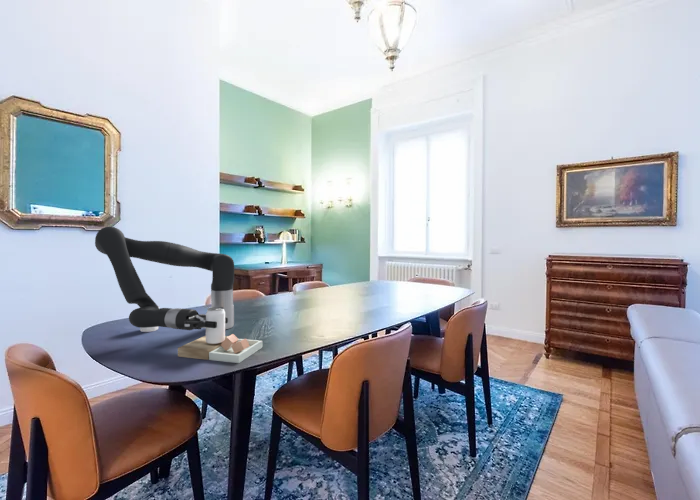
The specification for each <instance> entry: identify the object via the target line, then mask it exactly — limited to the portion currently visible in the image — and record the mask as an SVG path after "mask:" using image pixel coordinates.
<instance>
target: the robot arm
mask: <svg viewBox="0 0 700 500" xmlns="http://www.w3.org/2000/svg"><path fill="white" fill-rule="evenodd" d="M94 239H95V240H94V245H95V247H96V249H97V251H98V252H99V253H101V254H104V255H106V256H107V257H108V259H109V262H110V263H111V266H112V268H113V270H114V274H115V277H116V278H115V279H116V280H117V283H118V286H119V288H120V291H121V293H122V295H123V297H124V299H125V301H126V303H127V304H130V305H131V304H134V305H137V306H138V308H135V309H132V310H131V312H130V314H129V315H128V321H129V323H130V324H131V325H132V326H134V327H136V328H139V329H140V328H147V327H157V326H158V327H161V328H170V329H175V330H184V331H193V330H202V329H206V327H207V328H216V327H217V322H215V321H206V313H199V312H198V311H197V310H196V309H191V308H180V307H178V308H177V307H176V308H175V307H174V308H171V307H170V308H169V307H160V306H159V305H158V304H157V303H156V302H155V301H154V299H153V298H152V297H151V296H150V295H149V294H148V293H147V291H146V289H145V287H144V285H143V283H142V281H141V279H140V277H139V274H138V272H137V271H136V268H135V266H134V264H133V262H132V259H131V258H134V259H139V260H144V261H147V262H154V263H158V264H163V265H167V266H173V267H187V268H198V269H203V270H206V271H209V272H212V277H211V278H212V280H211V281H212V282H211V284H210V299H211V300H210V303H211V305H210V307H223V308H224V311H225V330H229V329H232V328H234V325H235V305H234V283H235V261H234V259H233V258H232V256H230V255H229V254H224V253H216V252H215V253H214V252H208V251H207V252H206V251H201V250H197V249H194V248H193V247H189V246H187V245H186V246H185V245H183V244H179V243H175V242H170V241H163V240H138V239H133V238H129V237H125V234H124V233H123V231H122V230H120V229H119V228H118V227H116V226H105V227H102V228H101V229H100V230H98V231H97V233H96V235H95V238H94ZM158 306H159V307H158Z"/></svg>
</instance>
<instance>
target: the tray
mask: <svg viewBox="0 0 700 500" xmlns="http://www.w3.org/2000/svg"><path fill="white" fill-rule="evenodd" d="M238 339H239V340H238V341H237V342H239V341H241V340H243V339H244V338H238ZM246 339H247V338H246ZM247 341H248V343H249V347H247V348H246V349H244V350H242V351H240V352H238V353H234V351H233V349H232V348H230V349H229V350H227V351H226V350H225V349H224V348H223V347H222V346H220V347H219V348H217V349H215V350H213V351H211V352H209V360H208V361H215V362H216V361H218V362H225V363H233V364H235V363H236V364H240V363H241V362H242V361H244V360H246V359H248V358H249V357H250V356H252V355H253V354H255V353H256V352H258V351H259V350H261V349H263V340H257V339H247ZM237 342H236V343H237Z"/></svg>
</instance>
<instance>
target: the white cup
mask: <svg viewBox="0 0 700 500" xmlns="http://www.w3.org/2000/svg"><path fill="white" fill-rule="evenodd" d="M157 306H158V307H159V308H160V305H157ZM139 330H140V332H143V333H150V332H151V333H152V332H155V331H157V330H159V326H157V327H147V328H139Z"/></svg>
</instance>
